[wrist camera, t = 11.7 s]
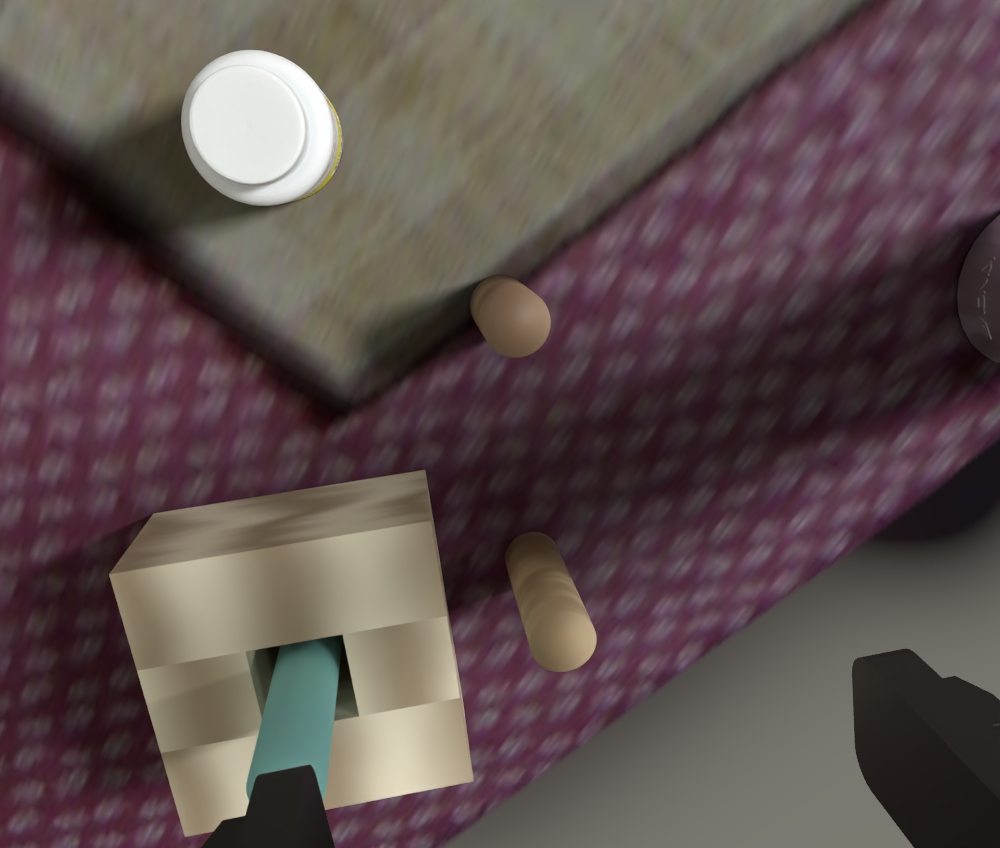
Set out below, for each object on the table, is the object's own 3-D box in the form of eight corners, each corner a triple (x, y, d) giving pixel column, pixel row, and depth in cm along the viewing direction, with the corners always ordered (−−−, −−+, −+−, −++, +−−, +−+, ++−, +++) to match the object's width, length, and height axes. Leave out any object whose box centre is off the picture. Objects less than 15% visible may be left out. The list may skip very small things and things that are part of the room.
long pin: (340, 580, 45) (318, 746, 32) (350, 629, 46) (333, 811, 32) (284, 589, 45) (238, 761, 31) (295, 638, 46) (255, 826, 32)
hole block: (425, 469, 44) (430, 520, 37) (462, 698, 48) (473, 781, 41) (153, 513, 43) (108, 574, 36) (214, 743, 47) (185, 836, 40)
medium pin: (555, 527, 46) (593, 606, 37) (561, 576, 47) (599, 665, 38) (501, 536, 45) (526, 618, 37) (508, 585, 46) (534, 677, 38)
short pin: (525, 270, 42) (546, 284, 36) (532, 329, 43) (554, 352, 37) (466, 279, 41) (477, 294, 36) (474, 338, 42) (487, 362, 37)
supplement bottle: (196, 116, 38) (127, 93, 28) (299, 51, 38) (266, 4, 28) (268, 225, 40) (227, 237, 30) (368, 162, 39) (359, 154, 30)
